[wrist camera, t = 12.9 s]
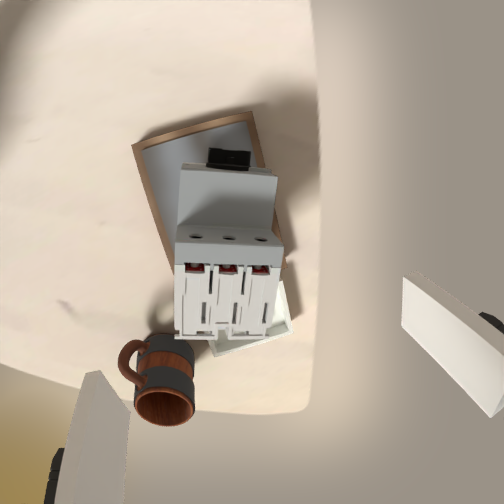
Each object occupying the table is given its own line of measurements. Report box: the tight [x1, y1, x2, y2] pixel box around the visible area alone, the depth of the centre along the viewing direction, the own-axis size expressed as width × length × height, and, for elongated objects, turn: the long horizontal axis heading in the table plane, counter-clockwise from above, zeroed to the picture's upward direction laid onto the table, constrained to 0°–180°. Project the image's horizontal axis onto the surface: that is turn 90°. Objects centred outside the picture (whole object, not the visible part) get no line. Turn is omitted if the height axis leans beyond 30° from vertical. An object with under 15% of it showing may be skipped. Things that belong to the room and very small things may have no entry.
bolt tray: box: [204, 277, 294, 357], centre depth 43 cm, size 12×9×3 cm
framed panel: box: [131, 111, 287, 274], centre depth 36 cm, size 14×20×3 cm
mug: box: [118, 334, 195, 426], centre depth 38 cm, size 9×12×12 cm
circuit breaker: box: [174, 147, 284, 340], centre depth 28 cm, size 8×14×15 cm, turn 174°
